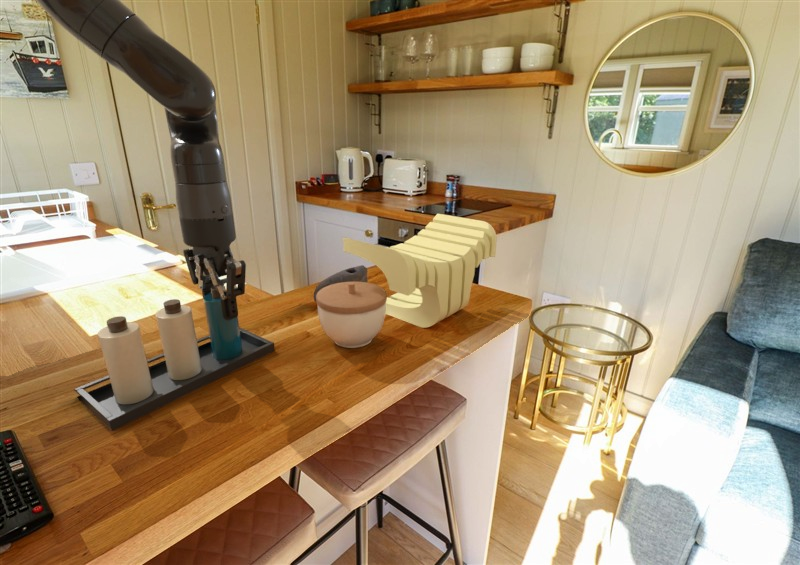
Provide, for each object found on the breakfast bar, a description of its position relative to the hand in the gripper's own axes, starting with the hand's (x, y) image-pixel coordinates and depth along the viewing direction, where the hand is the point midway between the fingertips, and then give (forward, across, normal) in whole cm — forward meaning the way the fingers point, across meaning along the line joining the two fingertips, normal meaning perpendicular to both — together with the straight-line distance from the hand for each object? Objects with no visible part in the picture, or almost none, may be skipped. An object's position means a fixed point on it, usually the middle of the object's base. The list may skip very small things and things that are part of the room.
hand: (221, 313), depth 70 cm
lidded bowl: (+8, +13, +18) cm, 23 cm away
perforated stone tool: (+8, -1, +30) cm, 31 cm away
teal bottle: (+7, 0, 0) cm, 7 cm away
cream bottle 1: (+7, 0, -15) cm, 17 cm away
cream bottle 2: (+7, 0, -7) cm, 10 cm away
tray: (+8, 0, -7) cm, 11 cm away
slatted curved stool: (+8, +17, +36) cm, 40 cm away
